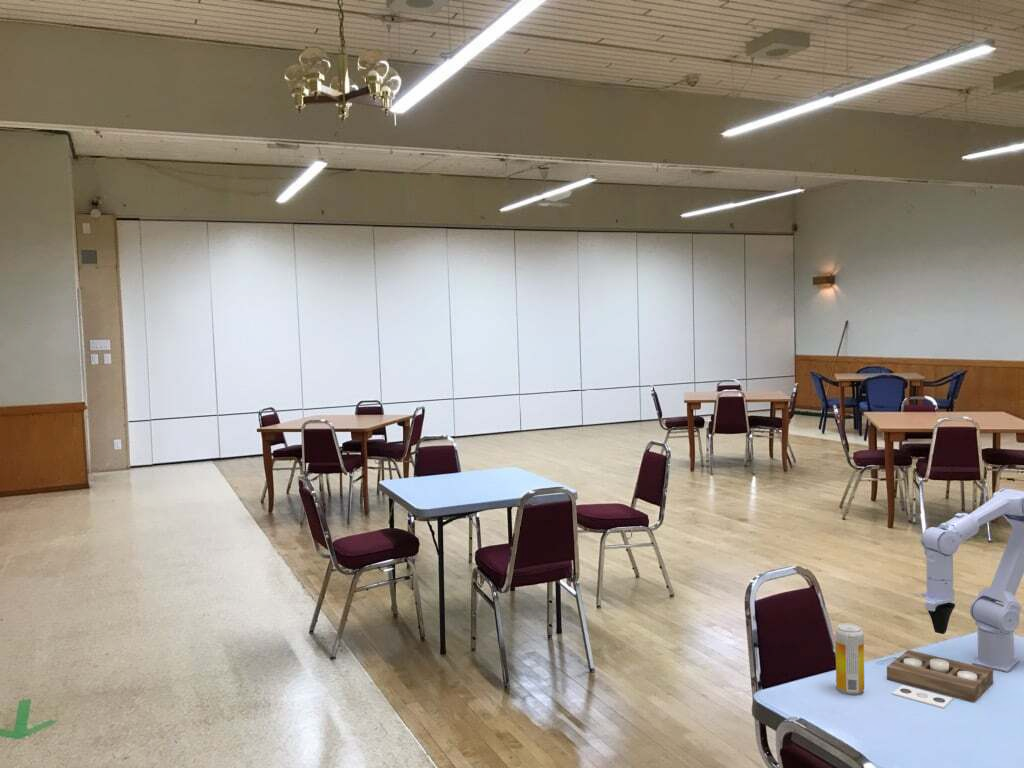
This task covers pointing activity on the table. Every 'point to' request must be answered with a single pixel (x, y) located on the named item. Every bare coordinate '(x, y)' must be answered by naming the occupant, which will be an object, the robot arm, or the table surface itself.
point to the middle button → (939, 665)
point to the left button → (913, 662)
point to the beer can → (849, 658)
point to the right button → (967, 675)
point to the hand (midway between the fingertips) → (940, 632)
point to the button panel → (940, 676)
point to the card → (922, 696)
